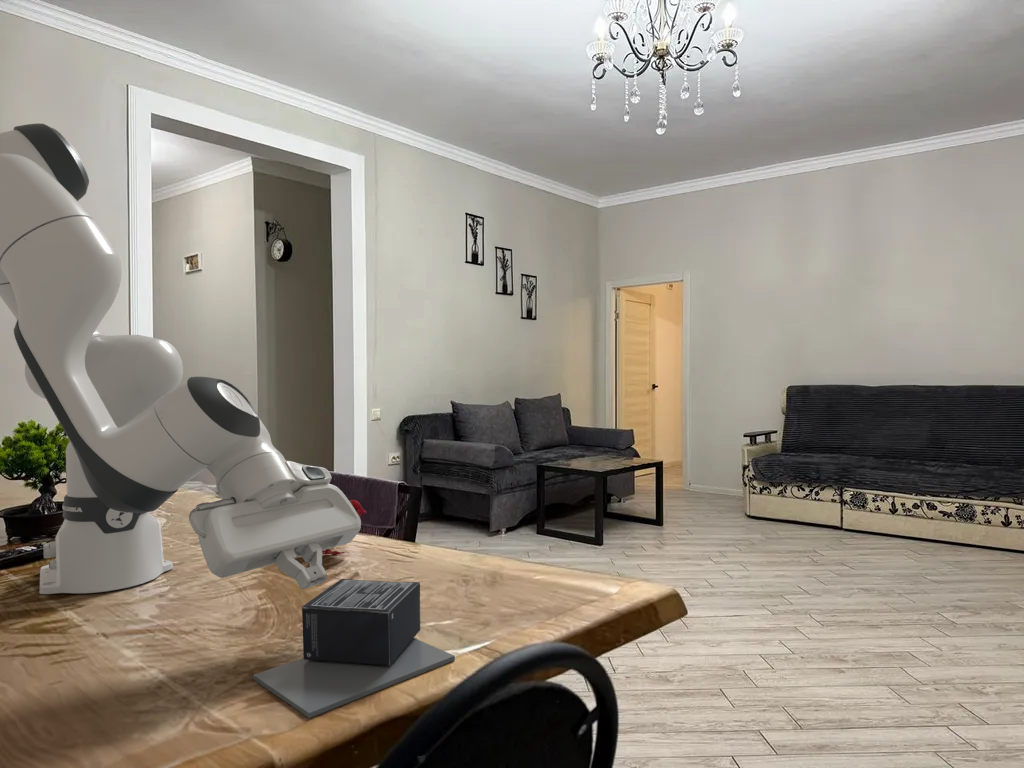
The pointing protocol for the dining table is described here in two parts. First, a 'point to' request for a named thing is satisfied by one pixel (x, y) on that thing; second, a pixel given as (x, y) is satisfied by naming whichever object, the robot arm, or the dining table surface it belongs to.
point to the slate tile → (345, 678)
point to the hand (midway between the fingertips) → (315, 583)
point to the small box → (361, 621)
